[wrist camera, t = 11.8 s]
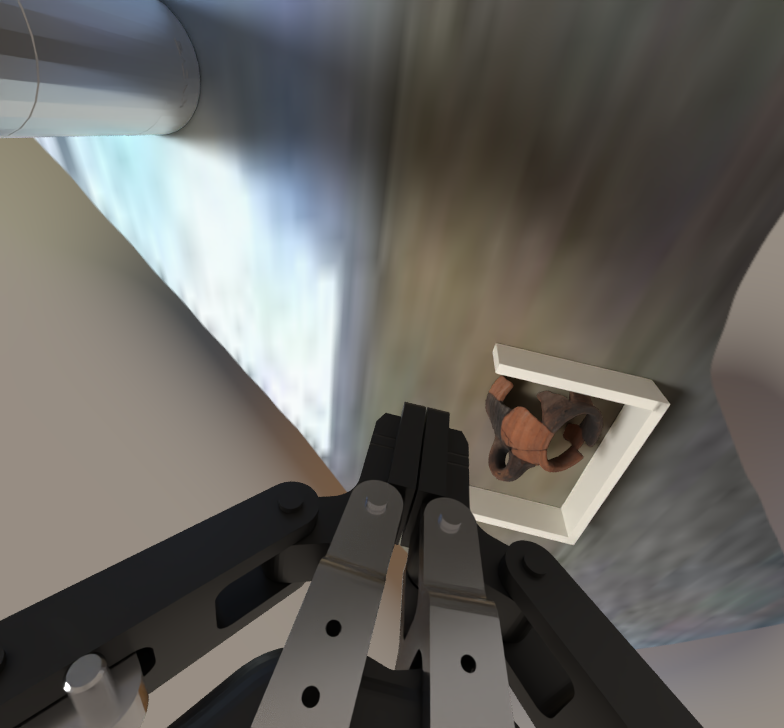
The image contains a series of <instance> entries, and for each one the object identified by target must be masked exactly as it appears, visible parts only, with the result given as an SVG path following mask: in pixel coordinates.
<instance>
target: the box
mask: <svg viewBox="0 0 784 728" xmlns="http://www.w3.org/2000/svg"><path fill="white" fill-rule="evenodd" d="M493 357H494V364H495V372H496V373H497V374H501V375H506V376H510V377H514V378H518V379H522V380H527V381H531V382H535V383H539V384H543V385H547V386H552V387H556V388H560V389H564V390H568V391H573V392H577V393H581V394H585V395H589V396H594V397H598V398H602V399H606V400H610V401H614V402H619V403H623V404H625V405H624V406H623V408H622V410H621V411H620V413H619V414H618V416H617V418H616V419H615V421H614V423H613V424H612V426H611V427H610V429H609V431H608V432H607V434H606V436H605V437H604V439H603V441H602V442H601V444H600V445H599V447H598V449H597V450H596V452H595V454H594V455H593V457H592V458H591V460H590V462H589V463H588V465H587V467H586V468H585V470H584V472H583V473H582V475H581V476H580V478H579V480H578V481H577V483H576V485H575V486H574V488H573V489H572V491H571V493H570V494H569V496H568V498H567V499H566V501H565V502H564V504H563V506H562V507H561V508H558V507H554V506H550V505H546V504H542V503H538V502H534V501H530V500H526V499H522V498H518V497H514V496H510V495H506V494H502V493H498V492H493V491H489V490H485V489H481V488H477V487H473V486H469V495H470V511H471V512H472V514H473V515H474V517H475V520H476V521H480V522H484V523H488V524H492V525H496V526H500V527H504V528H508V529H512V530H516V531H520V532H524V533H528V534H532V535H536V536H540V537H544V538H548V539H552V540H555V541H559V542H563V543H567V544H571V545H574V544H575V542H576V541H577V540H578V538H579V537H580V535H581V534H582V532H583V531H584V529H585V528H586V526H587V525H588V524H589V522H590V521H591V519H592V518H593V516H594V515H595V513H596V512H597V510H598V509H599V508H600V506H601V505H602V503H603V502H604V500H605V499H606V497H607V496H608V495H609V493H610V492H611V490H612V489H613V487H614V486H615V484H616V483H617V481H618V480H619V479H620V477H621V476H622V474H623V473H624V471H625V470H626V468H627V467H628V465H629V464H630V463H631V461H632V460H633V458H634V457H635V455H636V454H637V452H638V451H639V449H640V448H641V447H642V445H643V444H644V442H645V441H646V439H647V438H648V436H649V435H650V433H651V432H652V431H653V429H654V428H655V426H656V425H657V423H658V422H659V420H660V419H661V418H662V416H663V415H664V413H665V412H666V410H667V409H668V407H669V406H670V403H669V402H668V400H667V399H666V398H665V396H664V395H663V394H662V392H661V391H660V390H659V389H658V387H657V386H656V385H655V383H654V382H653V381H652V380H651V379H647V378H642V377H638V376H634V375H630V374H626V373H621V372H617V371H613V370H609V369H604V368H600V367H596V366H592V365H587V364H583V363H579V362H575V361H571V360H566V359H562V358H558V357H554V356H549V355H545V354H541V353H537V352H532V351H528V350H524V349H520V348H516V347H511V346H507V345H503V344H499V343H496V344H495V347H494V350H493Z"/></svg>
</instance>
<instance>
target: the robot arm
mask: <svg viewBox="0 0 784 728" xmlns="http://www.w3.org/2000/svg"><path fill="white" fill-rule="evenodd" d="M199 95H200V74H199V66H198V61H197V58H196V55H195V51H194V48H193V46H192V43H191V41H190V39H189V37H188V35H187V33H186V31H185V29H184V28H183V26H182V25H181V23H180V22H179V20H178V19H177V17H176V16H175V15H174V14H173V13H172V12H171V11H170V10H169V9H168V7H167V6H166V5H164V4H163V3H162V2H160V1H159V0H0V138H24V137H25V138H26V137H74V136H123V135H126V136H132V135H165V134H169V133H173V132H176V131H178V130H179V129H181V128H182V127H184V126H185V125H186V124H187V122H188V121H189V120H190V119H191V118H192V116H193V113H194V111H195V109H196V107H197V103H198V99H199ZM449 416H450V414H449V412H446V411H441V410H437V409H433V408H429V407H427V410H426V407H425V406H421V405H416V404H412V403H408V402H405V403H404V406H403V410H402V414H401V416H396V415H392V414H388V413H385V414H384V415H383V416H382V417H381V418H380V419H378V420H377V421H376V425H375V428H374V432H373V435H372V438H371V442H370V445H369V449H368V452H367V456H366V459H365V462H364V466H363V469H362V473H361V476H360V479H359V482H358V483H357V485H356V486H355V487H354V488H353V489H352V490H350V491H349V492H347V493H345V494H342V495H338V496H330V497H318V496H317V494H316V492H315V491H314V490H313V489H312V488H311V487H309V486H308V485H306V484H303V483H300V482H284V483H280V484H278V485H276V486H274V487H272V488H270V489H268V490H265V491H263V492H261V493H259V494H257V495H255V496H253V497H251V498H249V499H247V500H245V501H243V502H241V503H239V504H237V505H235V506H233V507H231V508H229V509H227V510H225V511H223V512H221V513H219V514H217V515H215V516H213V517H210V518H209V519H207V520H204V521H202V522H201V523H198V524H196V525H194V526H192V527H190V528H188V529H186V530H184V531H182V532H180V533H178V534H176V535H174V536H172V537H170V538H168V539H166V540H164V541H162V542H160V543H158V544H156V545H153V546H151V547H149V548H147V549H145V550H143V551H141V552H140V553H137V554H135V555H133V556H131V557H129V558H127V559H125V560H123V561H121V562H119V563H117V564H115V565H113V566H111V567H109V568H107V569H105V570H103V571H101V572H99V573H96V574H94V575H92V576H90V577H88V578H86V579H84V580H82V581H80V582H78V583H76V584H74V585H72V586H70V587H68V588H66V589H64V590H62V591H60V592H58V593H56V594H54V595H52V596H50V597H48V598H46V599H44V600H42V601H40V602H37V603H35V604H33V605H31V606H30V607H27V608H25V609H23V610H21V611H19V612H17V613H15V614H13V615H11V616H9V617H7V618H5V619H3V620H1V621H0V728H140V726H141V724H142V723H143V720H144V718H145V715H146V712H147V708H148V702H149V694H150V693H151V692H153V691H154V690H155V689H157V688H158V687H159V686H161V685H162V684H164V683H165V682H167V681H168V680H170V679H171V678H172V677H174V676H175V675H177V674H178V673H179V672H181V671H182V670H184V669H185V668H187V667H188V666H189V665H191V664H192V663H194V662H195V661H197V660H198V659H199V658H201V657H202V656H204V655H205V654H206V653H208V652H209V651H211V650H212V649H213V648H215V647H216V646H218V645H219V644H221V643H222V642H223V641H225V640H226V639H228V638H229V637H231V636H232V635H233V634H235V633H236V632H237V631H239V630H240V629H242V628H243V627H245V626H246V625H248V624H249V623H250V622H252V621H253V620H255V619H256V618H258V617H259V616H260V615H262V614H263V613H264V612H266V611H268V610H269V609H270V608H272V607H273V606H274V605H276V604H277V603H279V602H280V601H282V600H283V599H285V598H286V597H287V596H289V595H290V594H292V593H293V592H294V591H296V590H297V589H299V588H300V587H301V586H302V585H303V584H304V583H305V582H306V581H311V584H310V586H309V588H308V591H307V593H306V596H305V598H304V600H303V603H302V605H301V608H300V610H299V613H298V615H297V617H296V620H295V622H294V624H293V627H292V629H291V632H290V634H289V636H288V639H287V641H286V644H285V646H284V648H280V649H276V650H273V651H270V652H267V653H265V654H263V655H261V656H259V657H257V658H254V659H253V660H251V661H250V662H248V663H247V664H245V665H243V666H242V667H241V668H240V669H238V670H237V671H235V672H234V673H233V674H232V675H231V676H229V677H228V678H227V679H226V680H224V681H223V682H222V683H221V684H220V685H218V686H217V687H216V688H215V689H213V690H212V691H211V692H210V693H209V694H208V695H206V696H205V697H204V698H202V699H201V700H200V701H199V702H198V703H196V704H195V705H194V706H193V707H191V708H190V709H189V710H188V711H187V712H185V713H184V714H183V715H182V716H180V717H179V718H178V719H177V720H176V721H174V722H173V723H172V724H171V725H169V726H168V727H167V728H519V726H518V725H517V724H516V723H515V721H514V718H513V712H512V705H511V698H510V691H509V686H510V687H511V689H512V691H513V692H514V694H515V695H516V697H517V699H518V700H519V702H520V703H521V705H522V707H523V708H524V710H525V711H526V713H527V715H528V716H529V718H530V719H531V721H532V722H533V724H534V726H535V727H536V728H703V727H702V726H701V724H700V723H699V722H698V721H697V720H696V719H695V718H694V716H693V715H692V714H691V713H690V712H689V711H688V710H687V708H686V707H685V706H684V705H683V704H682V703H681V702H680V700H679V699H678V698H677V697H676V696H675V695H674V694H673V693H672V691H671V690H670V689H669V688H668V687H667V686H666V685H665V684H664V682H663V681H662V680H661V679H660V678H659V676H658V675H657V674H656V673H655V672H654V671H653V670H652V669H651V667H650V666H649V665H648V664H647V663H646V662H645V661H644V660H643V658H642V657H641V656H640V655H639V654H638V653H637V651H636V650H635V649H634V648H633V647H632V646H631V645H630V643H629V642H628V641H627V640H626V639H625V638H624V637H623V635H622V634H621V633H620V632H619V631H618V630H617V629H616V627H615V626H614V625H613V624H612V623H611V622H610V621H609V619H608V618H607V617H606V616H605V615H604V614H603V613H602V611H601V610H600V609H599V608H598V607H597V606H596V605H595V604H594V602H593V601H592V600H591V599H590V598H589V597H588V596H587V594H586V593H585V592H584V591H583V590H582V589H581V588H580V586H579V585H578V584H577V583H576V582H575V581H574V580H573V578H572V577H571V576H570V575H569V574H568V573H567V572H566V570H565V569H564V568H563V567H562V566H561V565H560V564H559V562H558V561H557V560H556V559H555V558H554V557H553V556H552V555H551V554H550V553H549V552H548V551H547V550H546V549H545V548H543V547H542V546H540V545H538V544H536V543H533V542H530V541H524V540H521V541H516V542H514V543H512V544H511V545H510V546H508V545H506V544H504V543H502V542H501V541H499V540H497V539H495V538H493V537H492V536H490V535H489V534H487V533H486V532H485V531H483V530H482V529H481V528H480V527H479V526H478V524H477V523H476V520H475V517H474V515H473V514H472V512H471V511H470V495H469V469H468V468H469V458H468V457H469V447H468V442H467V440H466V438H465V436H464V434H463V433H462V431H458V430H454V429H450V428H449ZM401 534H402V538H401V546H405V547H409V550H408V558H407V563H406V566H405V568H404V571H403V580H402V600H401V618H400V636H399V649H398V655H397V660H396V665H395V670H391V669H389V668H387V667H385V666H383V665H382V664H380V663H378V662H377V661H375V660H373V659H372V658H370V657H368V656H367V653H368V649H369V645H370V641H371V637H372V633H373V629H374V625H375V621H376V617H377V613H378V609H379V605H380V601H381V597H382V593H383V589H384V585H385V581H386V574H387V569H388V565H389V562H390V558H391V554H392V552H393V548H394V545H395V544H396V545H398V544H399V540H400V537H401Z"/></svg>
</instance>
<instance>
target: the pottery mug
mask: <svg viewBox="0 0 784 728" xmlns="http://www.w3.org/2000/svg"><path fill="white" fill-rule="evenodd" d="M512 388H513V384H512V383H511V382H510V381H508V380H507V379H506V378H505V377H504V376H500V377H499V378H498V379H497V380H496V381H495V383H494V384H493V385H492V387H491V389H490V391H489V393H488V395H487V399H486V412H487V414H488V416H489V418H490V421H491V423H492V427H493V429H494V431H495V440H494V443H493V445H492V447H491V450H490V453H489V468H490V470H491V472H492V474H493V475H494V476H495V477H496V478H497V479H498V480H501V481H507V482H508V481H509V482H510V481H514V480H516V479H517V478H519V477H520V476H521V475H522V474H523V473H524V472H525V471H526V470H528V469H529V468H532V467H535V466H536V465H540V466H541V467H542V468H543V469H544V470H546V471H548V472H559V471H563V470H566V469H568V468H570V467H572V466H573V465H575V464H576V463H578V462H579V461H580V460H582V459H583V455H582V454H581V453H580V452H579V451H578V449H579V448H580V447H581V446H582V444H583V443H584V441H585V442H586V443H587V445H588V446H589V447H592V446H593V445H594V444H595V443H596V442H597V441H598V439H599V437H600V434H601V431H602V428H603V418H602V414H601V412H600V411H599V409H598V408H596V407H595V406H593V403H592V401H591V398H590V396H589V395H585V394H581V393H577V392H573V391H570V394H569V400H568V399H567V398H566V397H565V396H563V395H561V394H555V393H552V392H550V391H543V392H540V393H538V394H537V398H538V399H539V401H540V402H541V403H542V404H541V407H542V421H540V420H538V419H537V418H536V417H534V416H533V415H532V414H531V413H530V412H529V410H528V409H526V408H523V407H516V408H514V409H513V410H512V409H511V408H509V407H507V406H506V405H504V403H503V400H504V399H505V397H506V396H507V394H508V393H509V392H510V390H511V389H512ZM581 414H587V415H586V417H585V418H584V420H583V421H582V423H581V424H580V425H578V424H572V423H568V425H567V427H566V428H565V431H564V433H563V437H564V438H565V440H568V441H570V443H571V444H572V446H571V447H570V448H569V449H567V450H566V451H565V452H564V453H562V454H561V455H559V456H558V457H555V458H553V459H550V460H547V448H548V446H549V443H550V441H551V439H552V437H553V436H554V434H555V432H557V431H558V430H559V429H560V427H562V425H564V424H565V423H566V422H567V421H569V420H570V419H572V418H574V417H576V416H578V415H581ZM508 452H509V461H508V463H507V465H506V464H505V458H506V454H507V453H508Z"/></svg>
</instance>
